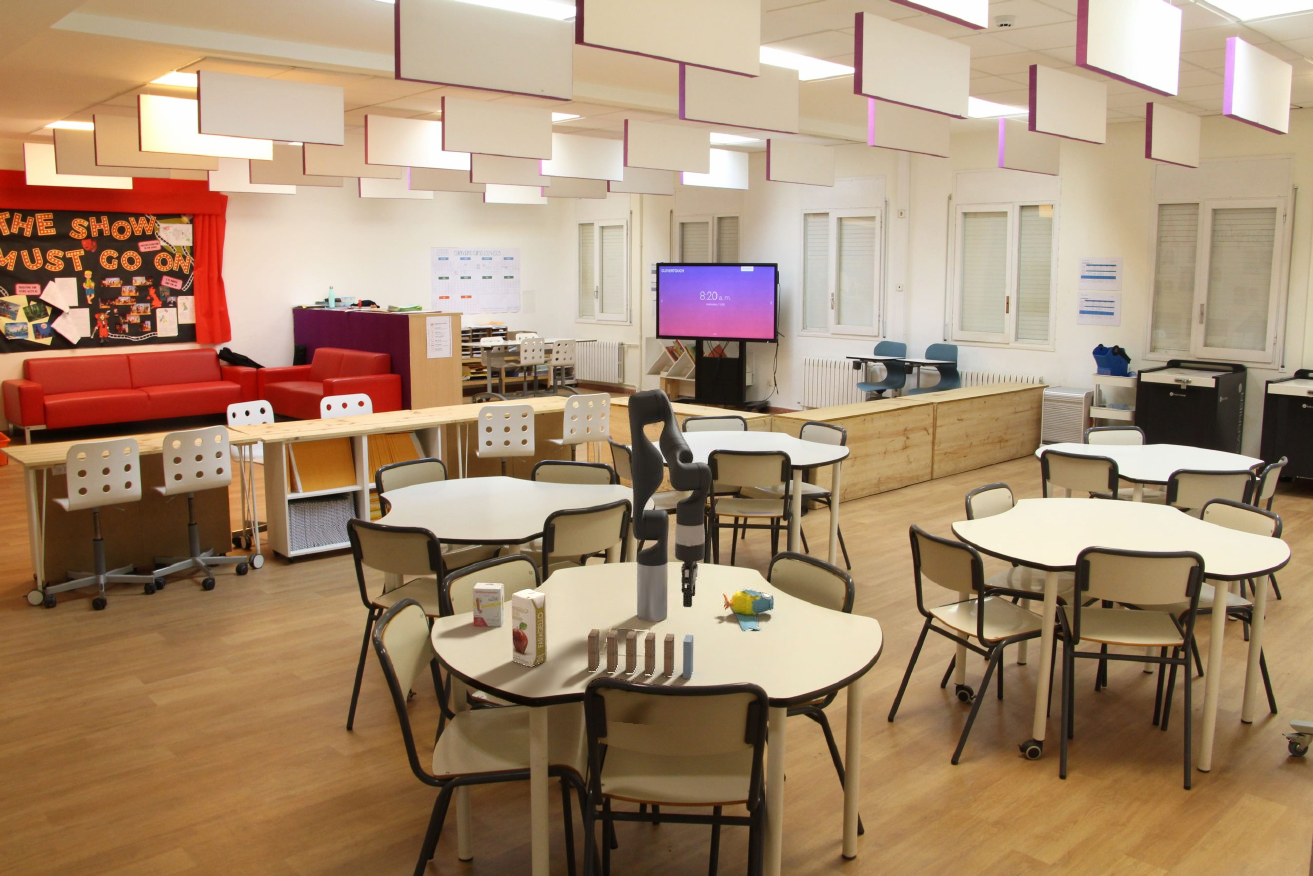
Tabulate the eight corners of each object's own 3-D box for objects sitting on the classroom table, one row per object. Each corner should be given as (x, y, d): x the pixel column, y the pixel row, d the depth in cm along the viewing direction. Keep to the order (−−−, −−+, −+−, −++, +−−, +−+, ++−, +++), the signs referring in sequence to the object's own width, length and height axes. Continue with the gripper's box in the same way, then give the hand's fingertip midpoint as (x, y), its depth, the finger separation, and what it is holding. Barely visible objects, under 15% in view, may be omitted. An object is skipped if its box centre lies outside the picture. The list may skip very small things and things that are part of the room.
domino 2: (610, 666, 262) (610, 630, 260) (618, 666, 262) (617, 630, 260) (606, 673, 257) (606, 636, 255) (614, 673, 257) (614, 637, 255)
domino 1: (592, 664, 263) (592, 629, 261) (599, 665, 262) (599, 629, 261) (588, 672, 258) (587, 635, 256) (595, 672, 258) (595, 636, 256)
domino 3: (629, 667, 261) (629, 631, 260) (636, 667, 261) (636, 631, 259) (625, 674, 256) (625, 638, 255) (633, 675, 256) (633, 638, 254)
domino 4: (647, 668, 260) (647, 632, 259) (655, 668, 260) (655, 632, 259) (644, 676, 256) (644, 639, 254) (652, 676, 255) (652, 639, 254)
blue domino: (685, 670, 259) (685, 634, 257) (692, 671, 259) (693, 635, 257) (682, 678, 254) (683, 641, 252) (690, 679, 254) (691, 642, 252)
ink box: (472, 626, 291) (471, 587, 289) (476, 620, 296) (475, 582, 294) (501, 627, 290) (500, 588, 288) (504, 621, 295) (504, 583, 293)
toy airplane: (717, 575, 314) (764, 575, 315) (716, 601, 315) (763, 601, 317) (731, 604, 286) (783, 604, 288) (730, 633, 288) (781, 633, 289)
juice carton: (529, 653, 270) (528, 586, 267) (551, 661, 265) (550, 593, 262) (508, 661, 265) (507, 593, 261) (530, 669, 259) (529, 600, 256)
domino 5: (666, 669, 260) (666, 633, 258) (673, 670, 259) (674, 634, 258) (663, 677, 255) (664, 640, 253) (671, 677, 255) (671, 640, 253)
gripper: (678, 532, 258) (677, 591, 261) (672, 547, 244) (671, 609, 247) (706, 533, 257) (706, 593, 260) (702, 548, 243) (701, 611, 246)
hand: (689, 601), depth 253 cm, fingers open, 8 cm apart
